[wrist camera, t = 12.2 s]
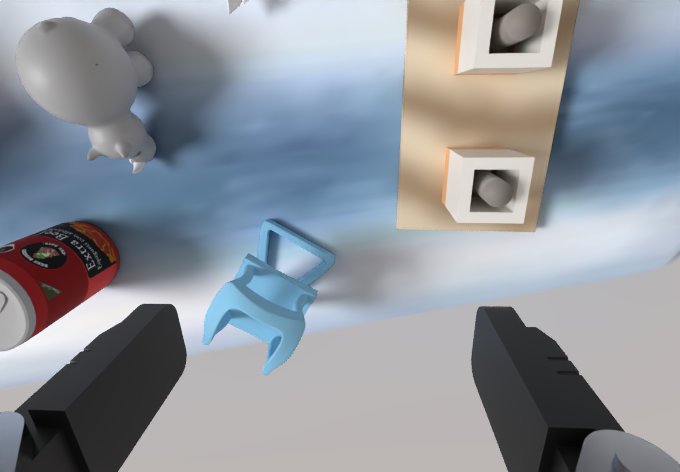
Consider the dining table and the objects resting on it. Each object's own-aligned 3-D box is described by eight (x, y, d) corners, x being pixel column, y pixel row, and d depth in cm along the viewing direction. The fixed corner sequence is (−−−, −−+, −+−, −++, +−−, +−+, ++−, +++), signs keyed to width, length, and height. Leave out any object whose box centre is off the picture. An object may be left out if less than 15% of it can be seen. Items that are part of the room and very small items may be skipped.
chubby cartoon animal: (127, 147, 36) (75, 198, 30) (49, 9, 28) (-43, 38, 22) (194, 142, 35) (156, 193, 29) (134, -3, 27) (63, 25, 21)
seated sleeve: (459, 6, 26) (483, -20, 21) (525, 4, 26) (567, -23, 20) (453, 75, 28) (473, 68, 22) (514, 74, 28) (551, 67, 22)
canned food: (135, 250, 37) (43, 306, 27) (102, 300, 40) (7, 370, 29) (68, 203, 36) (-53, 243, 26) (39, 258, 38) (-83, 315, 28)
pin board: (409, -31, 27) (423, -84, 19) (578, -37, 26) (665, -95, 18) (396, 224, 34) (403, 260, 26) (529, 227, 33) (577, 265, 25)
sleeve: (446, 147, 30) (463, 157, 24) (503, 147, 29) (534, 157, 24) (441, 201, 31) (456, 222, 26) (496, 201, 31) (523, 223, 25)
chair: (233, 281, 38) (173, 359, 26) (267, 216, 35) (216, 272, 23) (299, 316, 38) (267, 406, 27) (337, 255, 35) (319, 328, 24)
